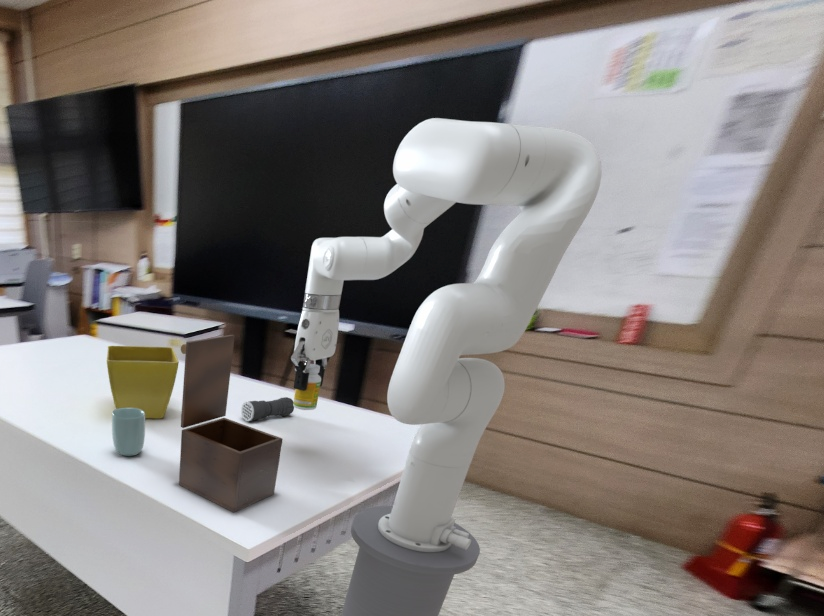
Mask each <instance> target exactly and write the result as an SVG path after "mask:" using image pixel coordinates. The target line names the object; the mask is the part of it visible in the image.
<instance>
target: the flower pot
mask: <svg viewBox="0 0 824 616" xmlns="http://www.w3.org/2000/svg"><path fill="white" fill-rule="evenodd" d="M179 362H180V361H179V359H178V357H177V354H176V352H175V350H174V348H173V347H171V346H143V345H142V346H141V345H140V346H139V345H138V346H137V345H108V346H107V354H106V367H107V375H108V380H109V386H110V392H111V397H112V399H113V404H114V407H115V409H119V408H138V409H141V410H143V411H144V413H145V419H160V420H161V419H163V418H164V416H165V414H166V411H167V409H168V407H169V403H170V400H171V397H172V394H173V390H174V387H175V384H176V379H177V374H178V369H179Z"/></svg>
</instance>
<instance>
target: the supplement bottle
mask: <svg viewBox="0 0 824 616" xmlns="http://www.w3.org/2000/svg"><path fill="white" fill-rule="evenodd" d="M304 365H305V363H304ZM319 371H320V366H319V365H316V364H314V363H310V366H309V369H308V372H307V373H309V378H308V384H307V390H305V391H302V390H298V389H294V396H293V406H294V409H296V410H300V411H313V410H316V409H317V406H318V400H319V394H320V388H321V386H320V384H321V377H320V376H319V375H318V373H319Z"/></svg>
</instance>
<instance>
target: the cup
mask: <svg viewBox="0 0 824 616" xmlns="http://www.w3.org/2000/svg"><path fill="white" fill-rule="evenodd" d="M111 434H112V435H111V436H112V444H113V447H114V450H115V451H116V452H117V453H118V454H119V455H121V456H124V457H132V456H137V455H139V454H140V453H141V452H142V450H143V448H144V446H145V438H146V418H145V413H144V411H143V410H141V409H138V408H119V409H116V408H115V409H114V410H112V412H111Z"/></svg>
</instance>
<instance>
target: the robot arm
mask: <svg viewBox="0 0 824 616" xmlns="http://www.w3.org/2000/svg"><path fill="white" fill-rule="evenodd" d="M392 163H393V164H392V174H393V178H394V181H395V182H396V184H395V185H394V186H393V187H391V189H390V190H389V191H388V193H387V194H386V197H385V199H384V203H383V212H384V217H385V220H386V222H387V224H388V225H389V228H391V230H389V231H388V232H387V233H385V234H384V235H383V236H338V237H319V238H316V239H315V240H313V242H312V245H311V249H310V256H309V262H308V270H307V276H306V277H307V278H306V283H305V290H304V297H303V303H302V310H301V315H300V319H299V323H298V326H297V331H296V334H295V335H296V336H295V342H294V349H293V353H292V355H291V356H290V360H291V362H292V364H293V366H294V371H295V374H294V375H295V376H294V381H293V389H294V390H295V389H298V390H302V391H305V390H307V384H308V378H309V373H307V372H308V369H309V366H310V364H312V363H311V362H312V361H313V364H316V365H319V366H320V371H319V373H318V375H319V376H320V377H321V384H320V387H322V386H323V383H324V382H323V381H324V376H325V371H326V369H327V367H328V363H329V361H330V359H331V358H332V357H333V356H334V354H335V352H336V349H337V342H338V337H339V328H340V327H339V326H340V310H339V309H340V304H341V299H342V292H343V287H344V281H375V280H379V279H383V278H385V277H387V276H389V275H390V274H392V273H393V272H395V271H396V270H397V269H399V268H400V267H401V266H403V265H404V264H405V263H407V262H408V261H409V260H411V258H412V257H413V256H414V254H415V253H416V251H417V249H418V248H419V246H420V244H421V241H422V240H423V236H424V231H425V228H426V227H427V226H429V225H430V224H431V223H432V222H434V221H435V220H437V218H439V217H440V216H442V215H443V214H444V213H445V212H447V210H449V209H450V208H451V207H453V206H454V205H455V204H456V203H459V204H465V205H481V206H482V205H483V206H484V205H485V206H500V207H501V206H511V207H518V208H519V209H520V212H519V213H518V215H516V217H514V219H512V220H511V221H510V223H508V224H507V225H506V227H505V228H504V229H503V230H502V232H501V233H500V234H499V235H498V236H497V238H496V239H495V241H494V243H493V244H492V246H491V248H490V250H489V252H488V254H487V257H486V259H485V262H484V264H483V266H482V268H481V271H480V272H479V274H478V276H477V278H476V279H475V281H474V282H468V283H467V282H465V283H461V282H460V283H452V284H447V285H445V286H442V287H440V288H438V289H436V290H434V291H433V292H432V293H430V294H429V295H428V296H427V297H426V298H425V299H424V300H423V302H422V303H421V304H420V305H419V307H418V309H417V310H416V312H415V314H414V316H413V318H412V320H411V324H409V328H408V331H407V333H406V336H405V339H404V341H403V344H402V347H401V349H400V353H399V355H398V358H397V360H396V363H395V366H394V368H393V371H392V374H391V376H390V380H389V384H388V388H387V392H386V393H387V396H386V402H387V408H388V410H389V413H390V415H391V416H392V417H393V418H394V419H395V420H396V421H397V422H399V423H402V424H404V425H409V426H410V425H411V426H415V425H416V426H417V425H418V426H419V425H420V426H419V427H418V428H417V430H416V432H415V434H414V435H413V439H412V441H411V444H410V447H409V450H408V453H407V457H406V461H405V464H404V466H403V467H404V468H403V470H402V474H401V477H400V481H399V485H398V488H397V491H396V494H395V498H394V501H393V505H392V506H393V508H392V511H391V514H387V515H385V516H383V517H382V518H381V519H380V520H379V523H378V529H379V532H380V533H381V534H382V535H383V536H384V537H385V538H386V539H387V540H389V541H391V542H392V543H394V544H396V545H398V546H401V547H404V548H407V549H410V550H414V551H419V552H440V551H444V550H446V549H448V548H449V547H450V546H451V544H454V545H455V546H457V547H460V548H462V549H464V550H467V548H468V547H469V545H470V543H471V540H470V539H468V536H469V533H470V532H469V533H466V532H464V531H460V530H457V529H456V527H454V523H456V521H457V520H456V518H454V517H452V516H453V513H454V510H455V507H456V505H457V502H458V499H459V497H460V494H461V491H462V488H463V485H464V483H465V480H466V477H467V475H468V472H469V469H470V466H471V464H472V461H473V459H474V456H475V453H476V451H477V448H478V446H479V443H480V442H481V439H482V437H483V435H484V433H485V430H486V429H487V428H488V425H489V423H490V422H491V421H492V419H493V417H494V415H495V414H496V412H497V410H498V409H499V407H500V404H501V402H502V400H503V397H504V394H505V388H506V382H505V377H504V374H503V372H502V370H501V369H500V368H499V367H498V366H497V364H495V363H494V362H492V361H490V360H487V359H484V358H479V357H461V356H472V355H488V354H495V353H501V352H504V351H506V350H509V349H510V348H512V347H514V346H515V345H516V344H517V343H518V342H519V341H520V339H521V338H522V336H523V335H524V333H525V331H526V330H527V328H528V326H529V325H530V323H531V320H532V319H533V316H534V315H535V313H536V311H537V309H538V307H539V306H540V305H539V304H540V303H541V301H542V299H543V297H544V295H545V293H546V291H547V289H548V287H549V286H550V283H551V281H552V280H553V277H554V276H555V274H556V271H557V269H558V266H559V264H560V262H561V261H562V260H563V259H562V258H563V257H564V256H565V254H566V252H567V250H568V248H569V247H570V244H571V242H573V240H574V237H575V236H576V235H577V233H578V232H579V230H580V228H581V226H582V225H583V223H584V222H585V220H586V219H587V217H588V214H589V213H590V211H591V209H592V207H593V205H594V204H595V200H596V198H597V196H598V193H599V190H600V186H601V180H602V161H601V158H600V155H599V153H598V150H597V149H596V147H595V146H594V144H593V143H592V142H591V141H590V140H588V139H587V138H586V137H584V136H583V135H580V134H578V133H576V132H573V131H570V130H567V129H562V128H556V127H546V126H538V125H537V126H536V125H524V124H514V123H505V122H504V123H503V122H494V121H493V122H492V121H471V120H460V119H452V118H451V119H450V118H440V117H435V118H434V117H432V118H428V119H425V120H423V121H421V122H419V123H418V124H417V125H415V126H414V127H412V129H411V130H409V131H408V133H407V134H405V136H404V137H403V139H402V140H401V142H400V143H399V145H398V147H397V150H396V152H395V155H394V159H393V162H392ZM460 357H461V358H460ZM303 361H304V362H305V363H304V362H303ZM304 364H305V365H304Z"/></svg>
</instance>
